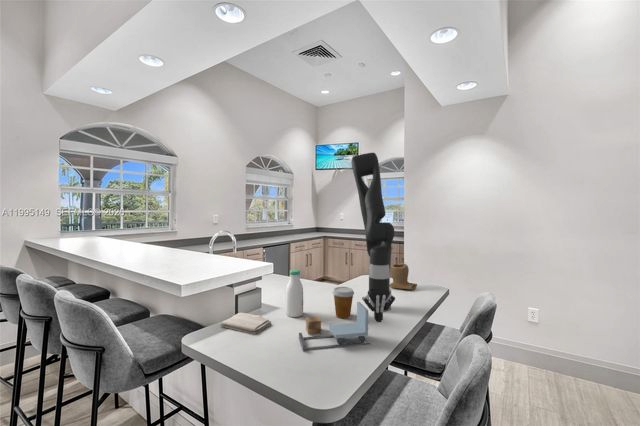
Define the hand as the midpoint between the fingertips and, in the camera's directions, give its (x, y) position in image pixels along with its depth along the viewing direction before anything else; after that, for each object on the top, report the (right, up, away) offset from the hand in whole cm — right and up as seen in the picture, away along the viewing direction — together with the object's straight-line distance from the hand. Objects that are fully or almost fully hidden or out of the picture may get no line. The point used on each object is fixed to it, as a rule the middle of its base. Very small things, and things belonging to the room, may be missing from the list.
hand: (378, 321), depth 112 cm
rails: (-17, -6, -3) cm, 18 cm away
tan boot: (+27, -5, +65) cm, 71 cm away
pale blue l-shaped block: (-12, -6, -2) cm, 13 cm away
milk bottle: (-33, -5, +23) cm, 41 cm away
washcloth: (-52, -6, +10) cm, 54 cm away
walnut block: (-24, -6, +5) cm, 26 cm away
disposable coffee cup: (-12, -6, +21) cm, 25 cm away
